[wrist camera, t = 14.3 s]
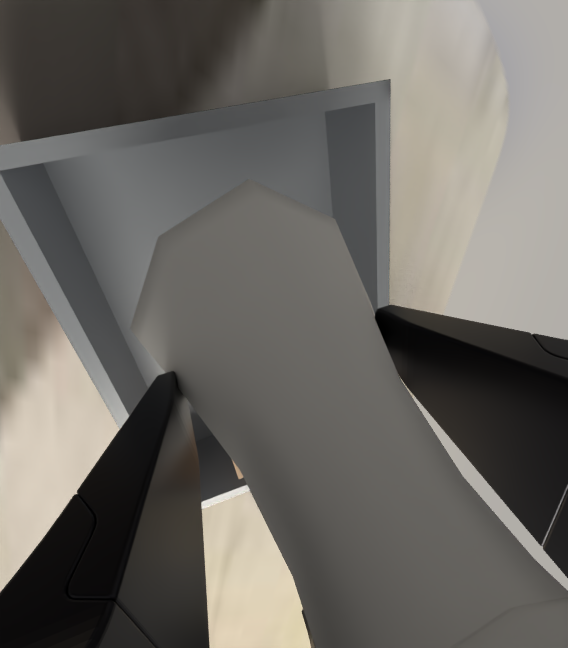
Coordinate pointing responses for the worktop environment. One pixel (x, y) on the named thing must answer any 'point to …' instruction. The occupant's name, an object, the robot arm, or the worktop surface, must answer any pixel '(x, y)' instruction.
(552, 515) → the robot arm
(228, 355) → the flask
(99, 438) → the worktop surface
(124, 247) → the tote
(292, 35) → the worktop surface
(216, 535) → the worktop surface
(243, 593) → the worktop surface
